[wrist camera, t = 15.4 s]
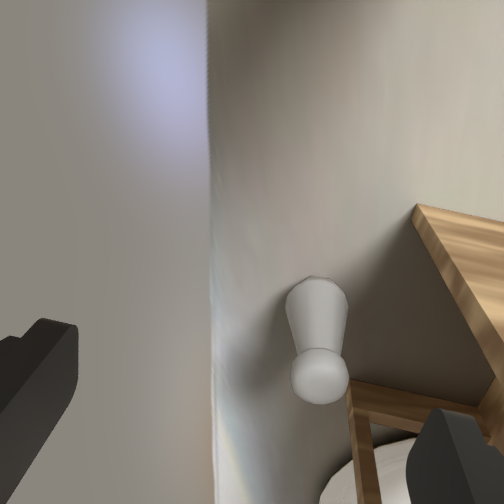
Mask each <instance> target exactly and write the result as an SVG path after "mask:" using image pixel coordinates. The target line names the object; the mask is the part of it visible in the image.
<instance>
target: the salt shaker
mask: <svg viewBox="0 0 504 504" xmlns="http://www.w3.org/2000/svg"><path fill="white" fill-rule="evenodd" d="M348 308H349V306H348V303H347V300H346V297H345V294H344V292H343V291H342V290H341V289H340V288H339V287H338V286H337V285H336V284H335V283H334V282H332V281H331V280H330V279H329V278H321V277H314V276H309V277H308V278H307V279H306V280H304V281H303V282H301V283H299V284H297V285H296V286H295V287H294V288H293V289H292V291H291V292H290V293H289V294H288V296H287V300H286V307H285V310H286V314H287V318H288V321H289V325H290V329H291V332H292V336H293V340H294V343H295V347H296V352H297V357H296V358H295V359H294V361H293V362H292V368H291V375H290V381H291V385H292V387H293V390H294V392H295V394H296V395H297V396H299V397H300V398H301V399H302V400H304V401H306V402H309V403H312V404H316V405H317V404H329V403H332V402H335V401H337V400H339V399H340V398H341V397H342V396H343V395H344V394H345V393H346V390H347V386H348V382H349V374H348V370H347V367H346V364H345V361H344V360H343V358H341V352H342V346H343V340H344V333H345V327H346V321H347V314H348Z"/></svg>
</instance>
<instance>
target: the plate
mask: <svg viewBox="0 0 504 504" xmlns="http://www.w3.org/2000/svg"><path fill="white" fill-rule="evenodd" d="M416 438H417V437H411V438H407V439H403V440H399V441H395V442H391V443H387V444H383V445H379V446H377V447H375V448H373V449H374V455H375V461H376V468H377V474H378V481H379V487H380V493H381V500H382V504H411V502H410V497H409V493H408V488H407V483H406V462H407V457H408V454H409V452H410V450H411V448H412V446H413V444H414V442H415V440H416ZM319 504H357V494H356V485H355V475H354V466H353V459H351V460H350V461H349V462H348V463H346V464H345V465H344V466H343V467H342V468H341V469H339V470H338V471H337V472H336V473H335V474H334V475H332V476H331V478H330V480H329V481H328V483H327V485H326V486H325V488H324V490H323V491H322V493H321V495H320V501H319Z"/></svg>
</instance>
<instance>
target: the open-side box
mask: <svg viewBox="0 0 504 504" xmlns="http://www.w3.org/2000/svg"><path fill="white" fill-rule="evenodd" d="M411 220H412V222H413V224H414V226H415V228H416V230H417V231H418V233H419V235H420V237H421V239H422V241H423V243H424V244H425V246H426V248H427V250H428V252H429V254H430V255H431V257H432V259H433V261H434V263H435V265H436V266H437V268H438V270H439V272H440V274H441V276H442V278H443V279H444V281H445V283H446V285H447V287H448V289H449V290H450V292H451V294H452V296H453V298H454V300H455V302H456V303H457V305H458V307H459V309H460V311H461V313H462V314H463V316H464V318H465V320H466V322H467V324H468V325H469V327H470V329H471V331H472V333H473V335H474V337H475V338H476V340H477V342H478V344H479V346H480V348H481V349H482V351H483V353H484V355H485V357H486V359H487V361H488V362H489V364H490V366H491V368H492V370H493V372H494V373H495V375H496V377H495V379H494V380H493V382H492V384H491V385H490V387H489V389H488V390H487V392H486V394H485V396H484V397H483V399H482V401H481V402H480V404H479V406H478V407H473V406H469V405H464V404H460V403H455V402H451V401H446V400H442V399H437V398H433V397H428V396H424V395H419V394H415V393H410V392H406V391H401V390H397V389H393V388H388V387H384V386H379V385H375V384H370V383H366V382H361V381H357V380H352V379H349V382H348V386H347V390H346V399H347V409H348V418H349V428H350V437H351V447H352V456H353V466H354V475H355V485H356V494H357V504H382V500H381V493H380V487H379V481H378V474H377V468H376V461H375V455H374V449H373V442H372V436H371V430H370V423H369V422H371V423H375V424H380V425H384V426H388V427H393V428H397V429H402V430H406V431H411V432H415V433H420V431H421V429H422V427H423V425H424V423H425V421H426V420H427V418H428V416H429V414H430V412H431V411H432V410H433V409H434V408H440V409H445V410H449V411H454V412H458V413H463V414H467V415H471V416H473V417H474V418H475V420H476V421H477V423H478V425H479V428H480V430H481V432H482V435H483V437H484V439H485V442H486V444H487V445H491V446H495V447H496V448H497V449H498V450H499V451H500V453H501V454H502V455H503V456H504V222H499V221H495V220H490V219H486V218H481V217H476V216H472V215H467V214H463V213H458V212H453V211H449V210H444V209H439V208H435V207H430V206H426V205H421V204H417V205H416V207H415V210H414V213H413V215H412V218H411Z"/></svg>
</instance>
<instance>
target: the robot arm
mask: <svg viewBox="0 0 504 504" xmlns="http://www.w3.org/2000/svg"><path fill="white" fill-rule="evenodd" d="M77 381H78V328H77V326H76V325H72V324H67V323H63V322H58V321H54V320H50V319H45V318H41V319H39V320H37V321H36V323H34V324H33V326H32V327H31V328H30V329H29V330H28V331H27V332H26V333H25V334H24V335H23V336H22V337H21V338H18V337H14V336H9V337H6V338H5V339H3V340H1V341H0V504H6V503H7V501H8V500H9V498H10V497H11V495H12V493H13V492H14V490H15V489H16V487H17V486H18V484H19V482H20V481H21V479H22V478H23V476H24V474H25V473H26V471H27V470H28V468H29V467H30V465H31V463H32V462H33V460H34V459H35V457H36V456H37V454H38V452H39V451H40V449H41V448H42V446H43V445H44V443H45V441H46V440H47V438H48V437H49V435H50V434H51V432H52V430H53V429H54V427H55V426H56V424H57V422H58V421H59V419H60V418H61V416H62V415H63V413H64V411H65V410H66V408H67V407H68V405H69V403H70V401H71V399H72V397H73V395H74V392H75V389H76V385H77ZM406 483H407V488H408V493H409V497H410V502H411V504H504V456H503V455H502V454H501V453H500V451H499V450H498V449H497V448H496V447H495V446H491V445H487V444H486V442H485V439H484V437H483V435H482V432H481V430H480V428H479V425H478V423H477V421H476V420H475V418H474V417H473V416H471V415H467V414H463V413H458V412H454V411H449V410H445V409H440V408H434V409H433V410H432V411H431V412H430V414H429V416H428V418H427V420H426V421H425V423H424V425H423V427H422V429H421V431H420V433H419V435H418V437H417V438H416V440H415V442H414V444H413V446H412V448H411V450H410V452H409V454H408V457H407V462H406Z"/></svg>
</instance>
